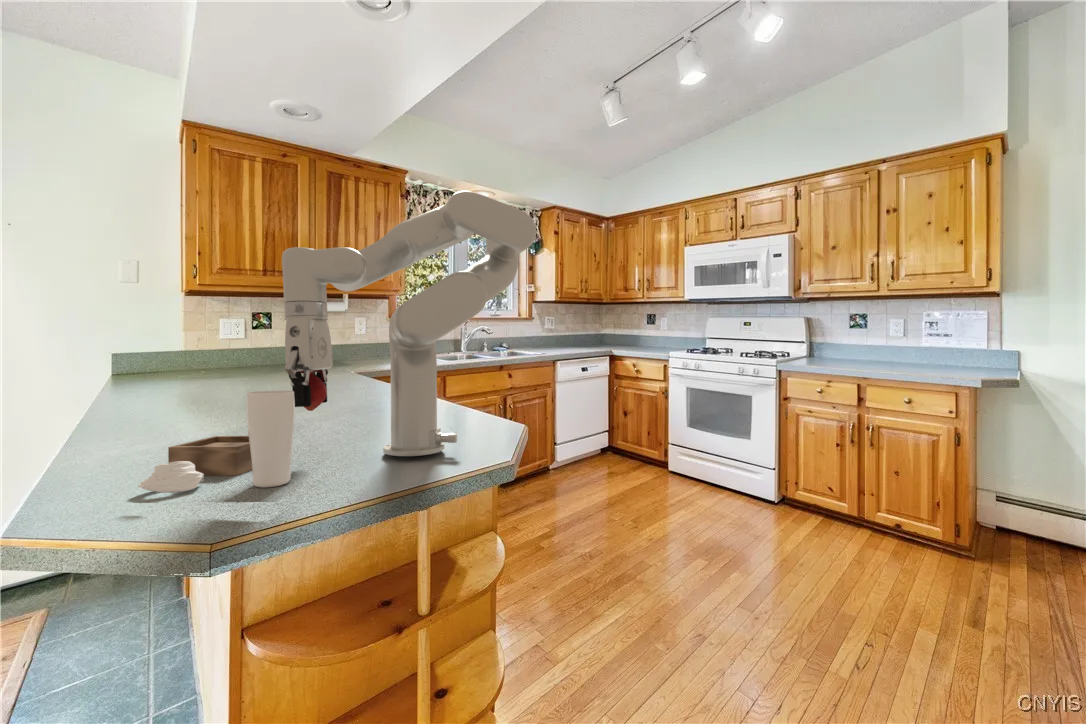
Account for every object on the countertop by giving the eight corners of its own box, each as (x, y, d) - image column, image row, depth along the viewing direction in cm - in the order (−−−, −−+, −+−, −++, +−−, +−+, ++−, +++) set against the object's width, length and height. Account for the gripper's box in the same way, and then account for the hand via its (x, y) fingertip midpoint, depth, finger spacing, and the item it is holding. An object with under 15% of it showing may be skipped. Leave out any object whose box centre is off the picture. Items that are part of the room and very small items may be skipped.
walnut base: (276, 460, 94) (276, 435, 93) (237, 475, 82) (237, 446, 81) (216, 460, 93) (216, 435, 93) (168, 475, 81) (168, 447, 81)
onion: (321, 408, 96) (319, 369, 96) (332, 410, 92) (329, 369, 92) (290, 411, 92) (288, 371, 92) (300, 413, 88) (297, 371, 88)
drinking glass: (264, 478, 79) (263, 390, 79) (303, 478, 79) (303, 390, 79) (237, 489, 72) (236, 393, 72) (280, 490, 72) (279, 393, 72)
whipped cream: (136, 502, 67) (135, 468, 67) (139, 492, 72) (139, 460, 72) (205, 492, 72) (204, 461, 72) (203, 483, 77) (203, 454, 77)
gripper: (303, 307, 83) (308, 409, 83) (344, 315, 100) (348, 399, 100) (260, 309, 83) (266, 410, 83) (309, 316, 100) (313, 400, 100)
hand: (311, 403), depth 92 cm, fingers closed on onion, 5 cm apart
